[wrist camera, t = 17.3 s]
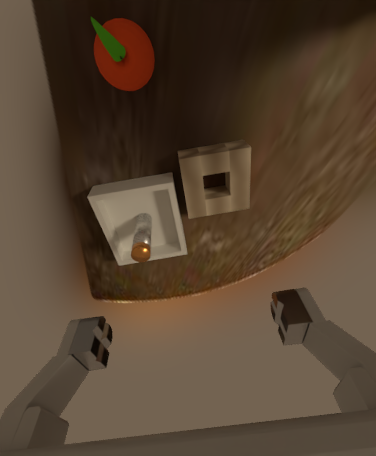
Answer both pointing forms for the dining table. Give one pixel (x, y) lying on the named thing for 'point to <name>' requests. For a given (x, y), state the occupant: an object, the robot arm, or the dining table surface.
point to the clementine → (123, 53)
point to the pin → (142, 238)
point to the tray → (134, 205)
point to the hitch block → (212, 164)
